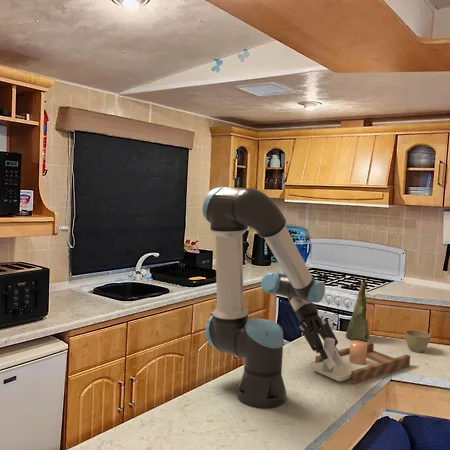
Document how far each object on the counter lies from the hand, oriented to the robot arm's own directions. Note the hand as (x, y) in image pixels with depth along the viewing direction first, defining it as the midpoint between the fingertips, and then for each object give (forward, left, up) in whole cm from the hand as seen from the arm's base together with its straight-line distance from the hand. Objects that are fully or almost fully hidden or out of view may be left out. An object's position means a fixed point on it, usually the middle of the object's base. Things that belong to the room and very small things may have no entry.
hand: (336, 366), depth 162 cm
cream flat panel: (+2, +11, -4) cm, 11 cm away
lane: (+7, +18, -5) cm, 20 cm away
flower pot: (+25, +48, -5) cm, 55 cm away
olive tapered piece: (+1, +52, -5) cm, 53 cm away
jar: (+5, +16, -3) cm, 17 cm away
